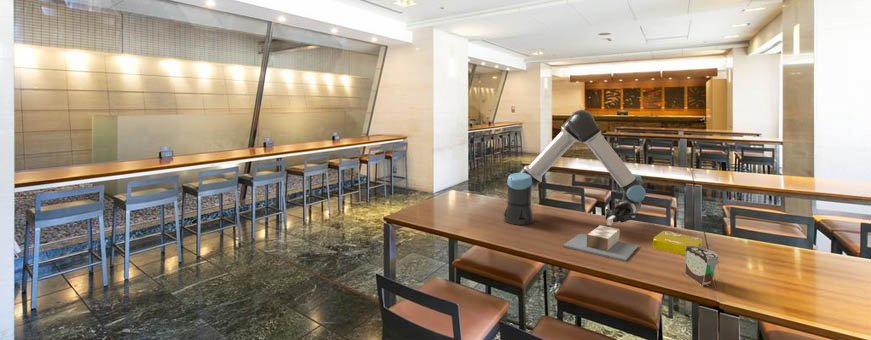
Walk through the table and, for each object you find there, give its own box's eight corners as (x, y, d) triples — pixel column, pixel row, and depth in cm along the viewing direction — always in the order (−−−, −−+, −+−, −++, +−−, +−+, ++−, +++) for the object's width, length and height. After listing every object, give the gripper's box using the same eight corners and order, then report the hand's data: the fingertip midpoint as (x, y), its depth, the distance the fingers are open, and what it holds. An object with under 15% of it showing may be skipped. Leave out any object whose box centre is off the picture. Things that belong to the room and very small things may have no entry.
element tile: (650, 248, 159) (651, 237, 158) (662, 239, 170) (663, 229, 169) (693, 258, 149) (694, 246, 148) (702, 248, 159) (704, 237, 158)
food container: (725, 289, 124) (729, 259, 122) (705, 288, 124) (709, 259, 122) (700, 272, 136) (703, 245, 134) (682, 272, 136) (685, 245, 134)
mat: (563, 246, 161) (563, 244, 160) (579, 235, 175) (580, 233, 175) (625, 261, 145) (625, 259, 145) (638, 247, 160) (638, 245, 159)
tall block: (599, 236, 171) (586, 246, 159) (600, 225, 170) (587, 234, 158) (618, 240, 166) (606, 251, 154) (619, 229, 165) (607, 238, 153)
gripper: (639, 220, 179) (624, 233, 162) (609, 215, 188) (592, 227, 170) (640, 205, 178) (626, 216, 160) (610, 200, 186) (593, 210, 169)
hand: (608, 222), depth 165 cm, fingers closed
